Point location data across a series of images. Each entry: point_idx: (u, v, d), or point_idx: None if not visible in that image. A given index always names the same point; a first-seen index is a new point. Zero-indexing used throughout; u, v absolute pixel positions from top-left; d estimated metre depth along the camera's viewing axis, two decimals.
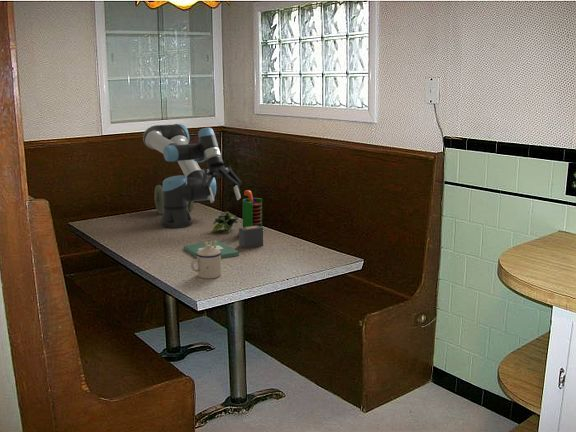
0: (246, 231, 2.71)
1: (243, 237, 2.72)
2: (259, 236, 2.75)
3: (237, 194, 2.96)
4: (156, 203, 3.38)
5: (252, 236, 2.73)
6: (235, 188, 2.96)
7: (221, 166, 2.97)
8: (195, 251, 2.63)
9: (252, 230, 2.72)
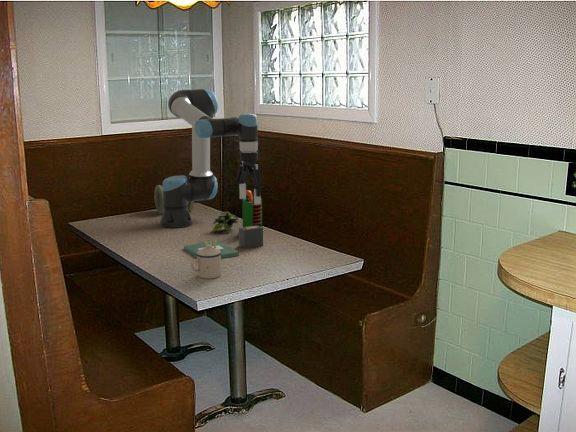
0: (246, 231, 2.71)
1: (243, 237, 2.72)
2: (259, 236, 2.75)
3: (243, 193, 2.77)
4: (156, 203, 3.38)
5: (252, 236, 2.73)
6: (243, 186, 2.77)
7: None
8: (195, 251, 2.63)
9: (252, 230, 2.72)
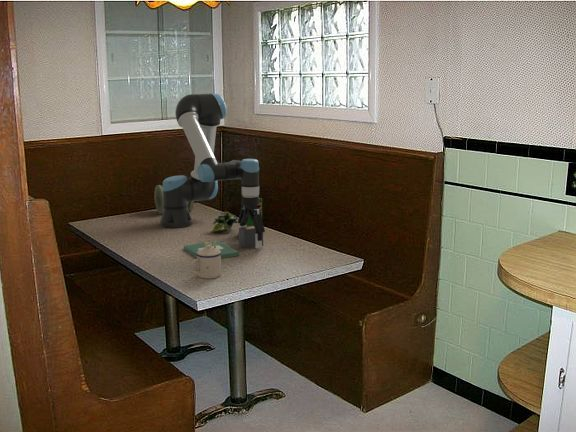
0: (246, 231, 2.71)
1: (243, 237, 2.72)
2: None
3: None
4: (156, 203, 3.38)
5: (252, 236, 2.73)
6: None
7: None
8: (195, 251, 2.63)
9: (252, 230, 2.72)
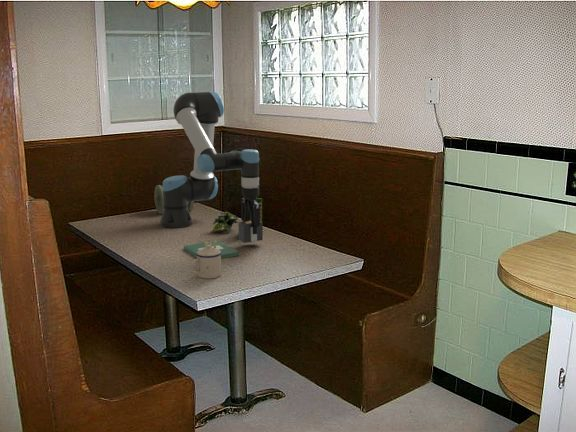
0: (246, 225, 2.71)
1: (242, 231, 2.72)
2: (259, 230, 2.75)
3: None
4: (156, 203, 3.38)
5: None
6: None
7: None
8: (195, 251, 2.63)
9: None
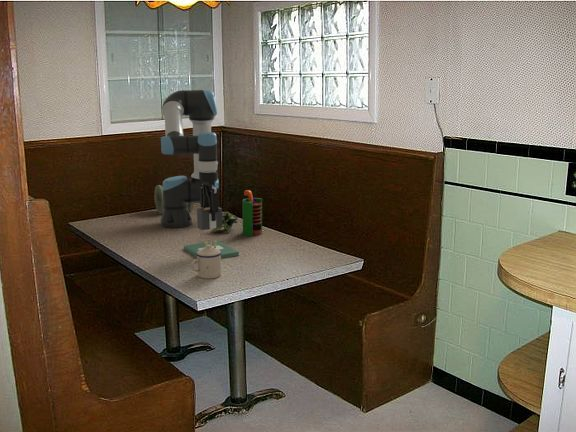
0: (204, 212, 2.59)
1: (201, 218, 2.60)
2: (218, 217, 2.63)
3: None
4: (156, 203, 3.38)
5: None
6: None
7: None
8: (195, 251, 2.63)
9: None
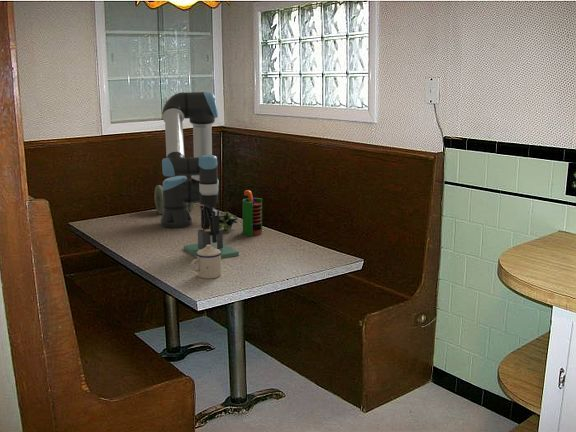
0: (204, 233, 2.61)
1: (201, 239, 2.62)
2: (219, 238, 2.65)
3: None
4: (156, 203, 3.38)
5: None
6: None
7: None
8: (195, 251, 2.63)
9: None
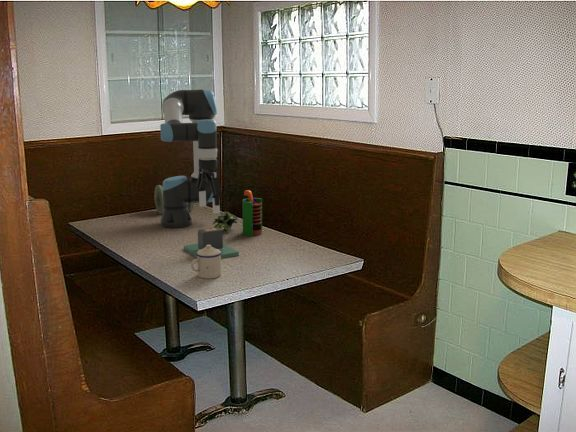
0: (204, 233, 2.61)
1: (201, 239, 2.62)
2: (219, 238, 2.65)
3: (203, 201, 2.68)
4: (156, 203, 3.38)
5: (211, 239, 2.63)
6: (203, 194, 2.67)
7: None
8: (195, 251, 2.63)
9: (211, 232, 2.63)
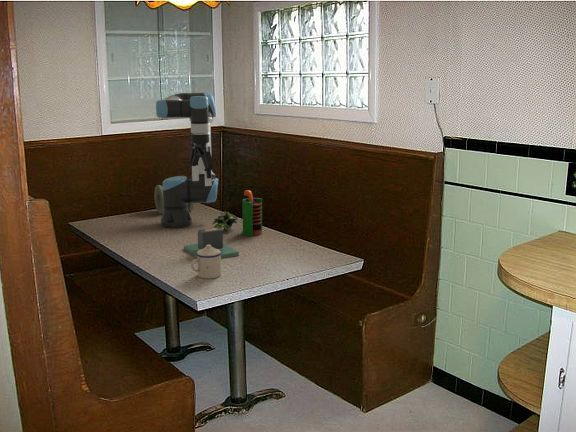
0: (204, 233, 2.61)
1: (201, 239, 2.62)
2: (219, 238, 2.65)
3: (196, 175, 2.79)
4: (156, 203, 3.38)
5: (211, 239, 2.63)
6: (196, 168, 2.78)
7: None
8: (195, 251, 2.63)
9: (211, 232, 2.63)
